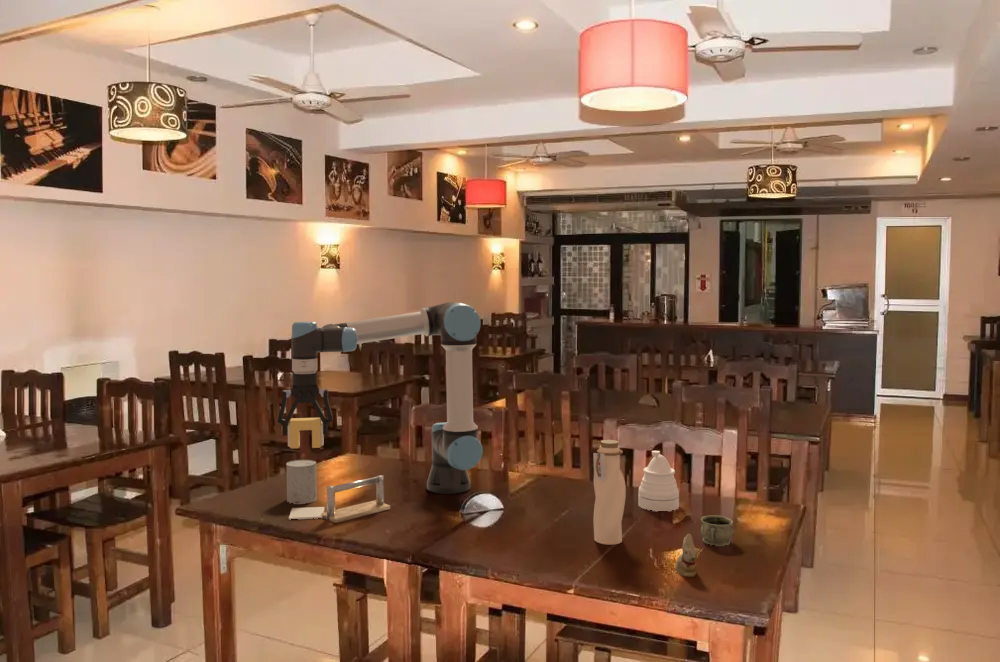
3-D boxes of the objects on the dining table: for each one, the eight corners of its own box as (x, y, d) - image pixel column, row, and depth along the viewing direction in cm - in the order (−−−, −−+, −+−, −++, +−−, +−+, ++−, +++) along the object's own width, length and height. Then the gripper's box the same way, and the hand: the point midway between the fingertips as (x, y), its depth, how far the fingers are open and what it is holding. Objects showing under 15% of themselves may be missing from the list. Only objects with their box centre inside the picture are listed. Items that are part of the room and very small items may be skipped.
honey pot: (662, 514, 245) (663, 457, 244) (630, 505, 255) (630, 450, 254) (687, 506, 254) (688, 451, 253) (654, 497, 264) (655, 444, 262)
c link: (290, 448, 240) (289, 420, 239) (291, 445, 244) (291, 418, 243) (320, 447, 241) (320, 420, 241) (321, 444, 245) (321, 417, 245)
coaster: (324, 508, 250) (324, 506, 250) (322, 518, 240) (322, 516, 240) (292, 510, 248) (292, 508, 248) (288, 519, 238) (288, 517, 238)
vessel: (705, 533, 228) (706, 511, 228) (737, 538, 224) (737, 516, 223) (695, 545, 217) (695, 523, 217) (727, 551, 213) (728, 528, 213)
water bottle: (614, 549, 214) (616, 447, 212) (584, 543, 219) (586, 443, 217) (629, 538, 223) (631, 440, 221) (600, 532, 228) (601, 437, 226)
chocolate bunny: (672, 576, 196) (673, 536, 195) (677, 565, 203) (678, 527, 202) (695, 579, 194) (696, 539, 193) (699, 568, 201) (700, 529, 200)
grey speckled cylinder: (299, 505, 253) (298, 468, 252) (280, 500, 259) (280, 463, 258) (322, 499, 260) (322, 462, 259) (304, 494, 266) (303, 458, 265)
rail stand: (376, 503, 255) (375, 473, 255) (390, 509, 250) (390, 477, 249) (320, 517, 241) (320, 484, 241) (334, 523, 236) (334, 490, 235)
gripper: (266, 374, 235) (267, 448, 237) (340, 373, 239) (341, 446, 241) (269, 371, 243) (270, 443, 245) (341, 370, 246) (342, 441, 248)
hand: (305, 445), depth 243 cm, fingers closed on c link, 9 cm apart
